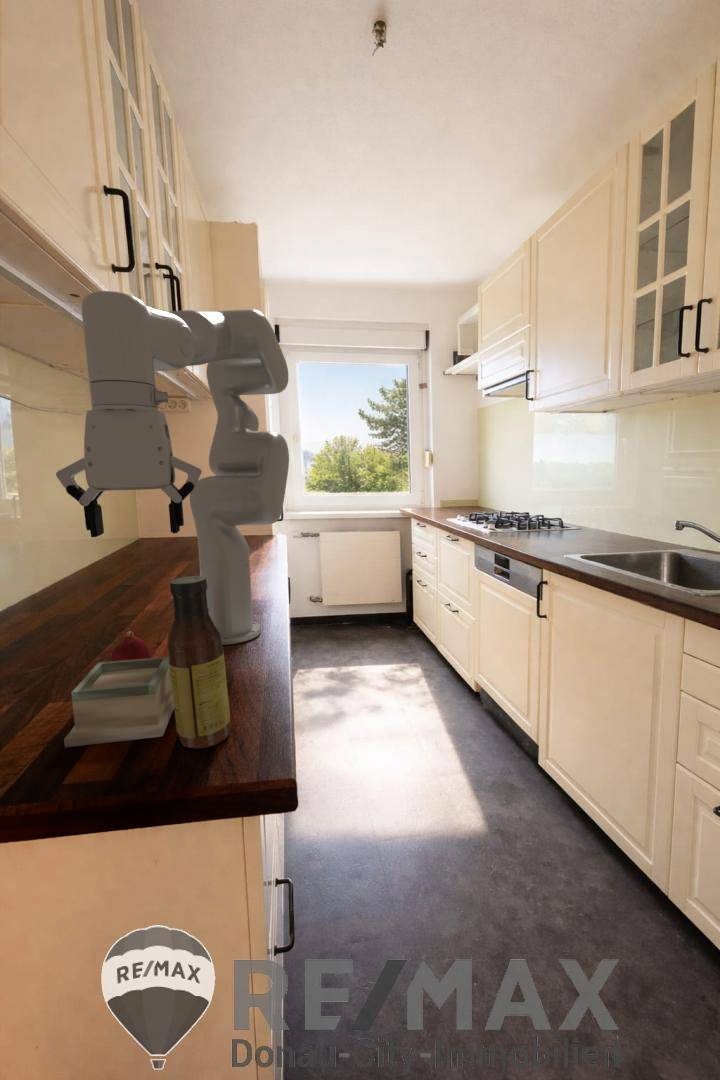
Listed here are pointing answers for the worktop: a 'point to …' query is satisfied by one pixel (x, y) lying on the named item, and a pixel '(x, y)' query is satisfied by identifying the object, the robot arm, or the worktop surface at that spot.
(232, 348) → the robot arm
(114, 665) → the open box
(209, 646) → the sauce bottle
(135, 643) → the onion
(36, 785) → the worktop surface
